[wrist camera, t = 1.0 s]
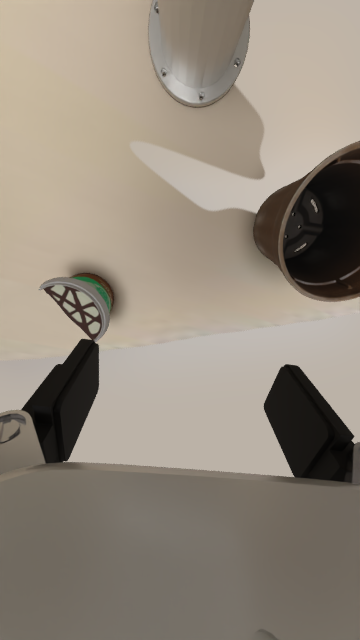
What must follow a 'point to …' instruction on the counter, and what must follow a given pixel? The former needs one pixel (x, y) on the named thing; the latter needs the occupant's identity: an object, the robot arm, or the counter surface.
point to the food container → (83, 301)
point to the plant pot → (317, 229)
